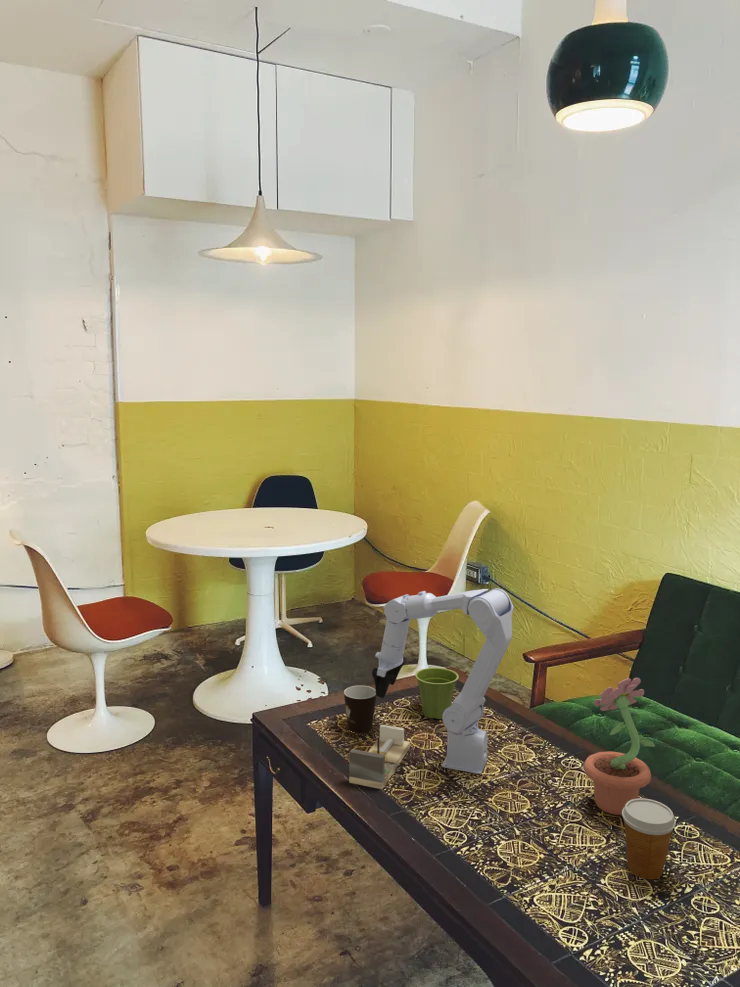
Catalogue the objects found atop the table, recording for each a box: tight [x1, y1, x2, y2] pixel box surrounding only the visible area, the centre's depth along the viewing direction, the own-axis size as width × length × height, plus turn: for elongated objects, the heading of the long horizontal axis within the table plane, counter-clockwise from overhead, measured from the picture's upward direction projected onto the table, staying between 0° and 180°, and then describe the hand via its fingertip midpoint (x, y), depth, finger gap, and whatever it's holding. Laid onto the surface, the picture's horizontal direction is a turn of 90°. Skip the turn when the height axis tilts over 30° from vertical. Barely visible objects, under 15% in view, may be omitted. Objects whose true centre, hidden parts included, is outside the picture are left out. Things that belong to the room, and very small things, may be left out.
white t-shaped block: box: [379, 724, 405, 753], centre depth 188 cm, size 8×6×4 cm
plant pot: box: [414, 667, 460, 720], centre depth 212 cm, size 12×12×11 cm
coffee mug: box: [343, 685, 377, 734], centre depth 205 cm, size 12×9×10 cm
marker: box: [371, 736, 395, 764], centre depth 182 cm, size 2×6×6 cm, turn 70°
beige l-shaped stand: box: [348, 740, 411, 790], centre depth 184 cm, size 21×8×8 cm, turn 160°
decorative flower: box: [583, 677, 656, 816], centre depth 166 cm, size 15×14×30 cm
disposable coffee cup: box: [621, 797, 677, 880], centre depth 146 cm, size 10×10×12 cm
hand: (385, 689), depth 197 cm, fingers open, 7 cm apart
